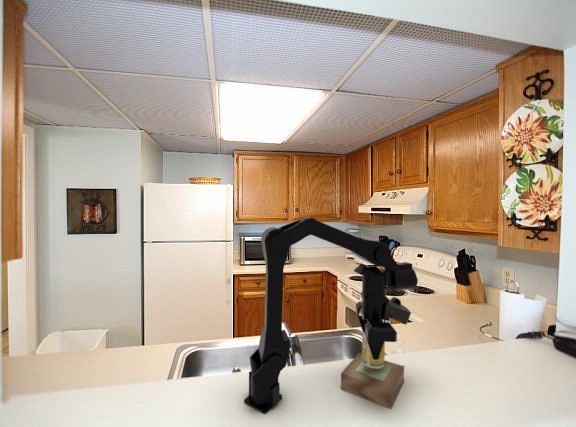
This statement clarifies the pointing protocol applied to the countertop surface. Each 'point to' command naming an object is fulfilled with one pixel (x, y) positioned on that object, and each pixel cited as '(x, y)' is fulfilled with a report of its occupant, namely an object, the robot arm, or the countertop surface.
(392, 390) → the walnut riser
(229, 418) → the countertop surface
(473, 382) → the countertop surface
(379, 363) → the supplement bottle
